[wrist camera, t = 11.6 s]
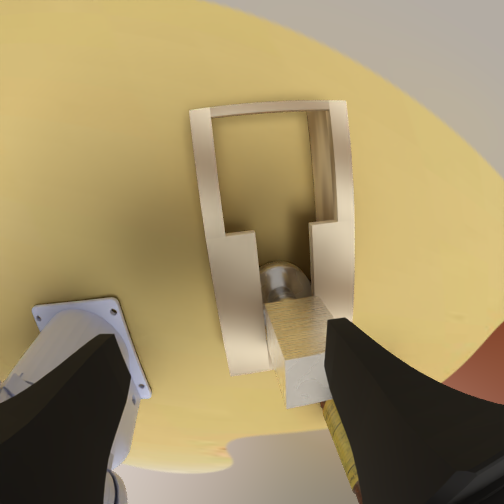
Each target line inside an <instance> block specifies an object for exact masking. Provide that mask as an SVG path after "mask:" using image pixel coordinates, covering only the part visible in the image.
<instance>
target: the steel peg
mask: <svg viewBox="0 0 504 504" xmlns="http://www.w3.org/2000/svg"><path fill="white" fill-rule="evenodd" d="M259 273H260V283H261V292H262V302H263V311H264V321H265V325H266V330H267V343H268V350H269V353H270V357H271V360H272V363H273V367H274V370H275V373H276V377H277V380H278V383H279V387H280V390H281V393H282V396H283V400H284V403H285V406H286V409H289V408H294V407H299V406H304V405H309V404H313V403H318V402H322V401H326V400H330V399H333V398H332V395H331V392H330V389H329V385H328V381H327V377H326V372H325V368H324V359H325V347H326V333H327V320H329V319H335V318H334V317H333V315H332V314H331V313H330V311H329V310H328V309H327V307H326V306H325V304H324V303H323V302H322V300H321V299H320V298H319V296H312V293H311V283H310V281H309V279H308V278H307V277H306V275H305V274H304V273H303V272H302V270H301V269H300V268H299V267H297V266H296V265H294V264H292V263H289V262H285V261H274V262H270V263H267V264H265V265H263V266H261V267H259Z"/></svg>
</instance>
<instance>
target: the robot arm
mask: <svg viewBox="0 0 504 504" xmlns="http://www.w3.org/2000/svg"><path fill="white" fill-rule="evenodd" d="M112 309H115V310H116V311H117V313H114V312H113V311H112ZM32 314H33V316H34V319H35V321H36V324H37V326H38V328H39V331H40V334H39V335H38V336H37V338H36V339H35V340H34V341H33V343H32V344H31V345H30V347H29V348H28V349H27V350H26V352H25V353H24V354H23V356H22V357H21V358H20V360H19V361H18V363H17V364H16V365H15V367H14V368H13V369H12V371H11V372H10V374H9V375H8V376H7V378H6V379H5V381H4V382H3V383H2V382H1V381H0V504H127V492H126V488H125V485H124V483H123V481H122V479H121V478H120V477H119V476H118V475H117V474H116V473H115V472H113V471H111V470H112V469H114V468H116V467H117V466H118V465H120V464H121V463H122V462H123V461H124V460H125V458H126V457H127V455H128V453H129V451H130V448H131V444H132V438H133V433H134V428H135V423H136V418H137V414H138V409H139V404H140V400H141V399H148V398H150V397H151V395H152V392H151V389H150V387H149V385H148V382H147V380H146V377H145V375H144V372H143V370H142V367H141V365H140V362H139V359H138V357H137V354H136V351H135V349H134V346H133V343H132V340H131V338H130V335H129V332H128V329H127V326H126V323H125V320H124V317H123V314H122V310H121V307H120V304H119V302H118V300H117V299H116V298H114V297H108V298H100V299H91V300H82V301H72V302H63V303H53V304H43V305H35V306H34V307H33V308H32ZM38 316H40V318H41V319H40V318H39V317H38ZM324 368H325V372H326V377H327V381H328V385H329V389H330V392H331V395H332V398H333V400H334V403H335V406H336V408H337V411H338V414H339V416H340V419H341V422H342V424H343V427H344V430H345V432H346V435H347V438H348V440H349V443H350V446H351V450H352V453H353V457H354V462H355V466H356V470H357V475H358V480H359V485H360V490H361V496H362V502H363V504H504V405H502V404H497V403H493V402H490V401H486V400H483V399H479V398H476V397H474V396H471V395H468V394H465V393H462V392H460V391H458V390H455V389H453V388H450V387H448V386H446V385H444V384H442V383H440V382H437V381H436V380H434V379H432V378H430V377H428V376H426V375H424V374H423V373H421V372H419V371H417V370H416V369H414V368H412V367H411V366H409V365H408V364H406V363H405V362H403V361H402V360H400V359H399V358H397V357H396V356H394V355H393V354H391V353H390V352H389V351H387V350H386V349H385V348H383V347H382V346H381V345H379V344H378V343H377V342H375V341H374V340H373V339H372V338H370V337H369V336H368V335H367V334H365V333H364V332H363V331H362V330H360V329H359V328H358V327H357V326H356V325H354V324H353V323H352V322H351V321H349V320H348V319H347V318H345V317H343V318H336V319H329V320H327V333H326V347H325V359H324ZM1 383H2V384H1ZM140 384H143V385H144V386H143V385H140Z"/></svg>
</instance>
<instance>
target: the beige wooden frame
mask: <svg viewBox="0 0 504 504" xmlns="http://www.w3.org/2000/svg"><path fill="white" fill-rule="evenodd" d="M297 111H307V117H308V126H309V136H310V146H311V157H312V168H313V181H314V195H315V210H316V222H310V223H308V224H309V242H310V264H311V293H312V296H319V298H320V299H321V300H322V302H323V303H324V304H325V306H326V307H327V309H328V310H329V311H330V313H331V314H332V315H333V317H334V318H335V319H336V318H343V317H345V318H347V319H348V320H349V321H351V322H352V320H353V302H354V273H355V218H354V189H353V170H352V156H351V143H350V132H349V122H348V113H347V105H346V101H339V100H298V101H273V102H257V103H244V104H234V105H224V106H216V107H208V108H200V109H193V110H189V114H190V124H191V132H192V141H193V149H194V158H195V166H196V173H197V181H198V188H199V196H200V203H201V210H202V217H203V224H204V230H205V237H206V243H207V250H208V256H209V262H210V268H211V274H212V280H213V286H214V292H215V297H216V303H217V309H218V314H219V320H220V325H221V330H222V336H223V341H224V346H225V351H226V356H227V361H228V366H229V371H230V376H237V375H244V374H251V373H257V372H263V371H269V370H274V367H273V363H272V360H271V357H270V353H269V350H268V343H267V340H266V331H265V321H264V311H263V302H262V292H261V283H260V273H259V264H258V254H257V245H256V236H255V231H254V230H248V231H241V232H234V233H227V234H225V228H224V221H223V213H222V206H221V198H220V190H219V182H218V174H217V166H216V157H215V149H214V140H213V132H212V123H211V118H219V117H228V116H238V115H248V114H260V113H275V112H297Z"/></svg>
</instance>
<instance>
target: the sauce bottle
mask: <svg viewBox="0 0 504 504" xmlns="http://www.w3.org/2000/svg"><path fill="white" fill-rule="evenodd" d="M321 408H322V409H323V415H324V418H325V421H326V423H327V426H328V428H329V431H330V433H331V436H332V439H333V441H334V444H335V446H336V449H337V452H338V454H339V457H340V459H341V462H342V465H343V467H344V470H345V472H346V475H347V478H348V480H349V483H350V485H351V488H352V491H353V492H354V493H355V494H356V496H357V499H358V502H359V504H363V502H362V496H361V490H360V485H359V480H358V475H357V470H356V466H355V462H354V457H353V453H352V450H351V446H350V443H349V440H348V438H347V435H346V432H345V430H344V427H343V424H342V422H341V419H340V416H339V414H338V411H337V408H336V406H335V403H334V400H333V399H330V400H326V401H322V402H321Z"/></svg>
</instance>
